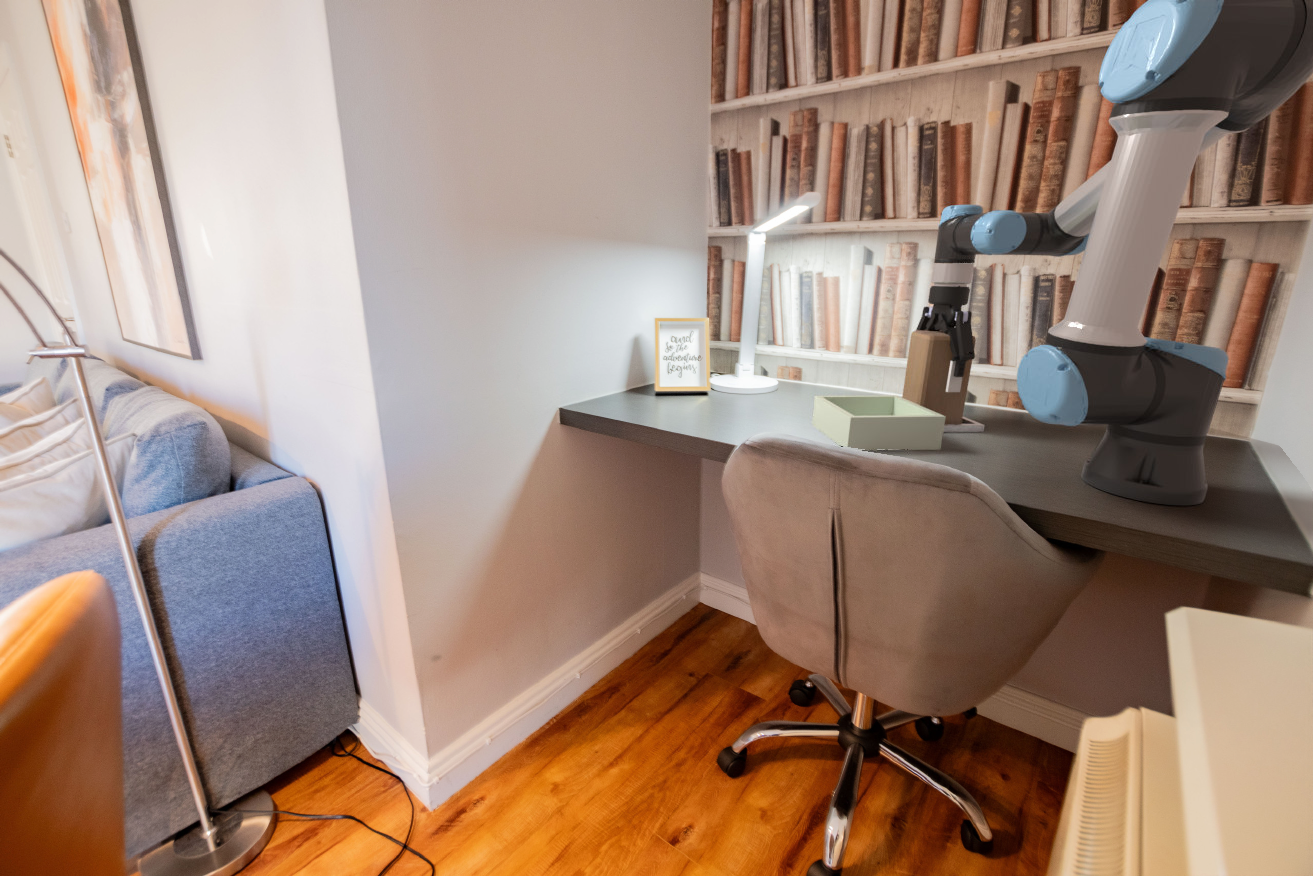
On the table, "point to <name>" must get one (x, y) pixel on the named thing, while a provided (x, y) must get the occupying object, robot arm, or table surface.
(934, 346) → the block
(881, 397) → the bin
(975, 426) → the socket frame
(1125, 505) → the table surface
